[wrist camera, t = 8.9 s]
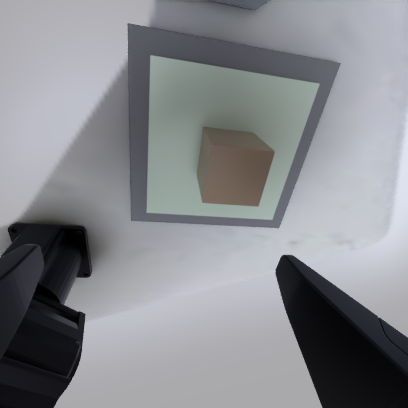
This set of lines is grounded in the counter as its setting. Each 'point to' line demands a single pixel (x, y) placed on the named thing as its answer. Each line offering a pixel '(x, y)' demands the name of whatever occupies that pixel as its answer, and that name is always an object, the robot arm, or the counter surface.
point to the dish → (245, 3)
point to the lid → (221, 138)
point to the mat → (222, 57)
